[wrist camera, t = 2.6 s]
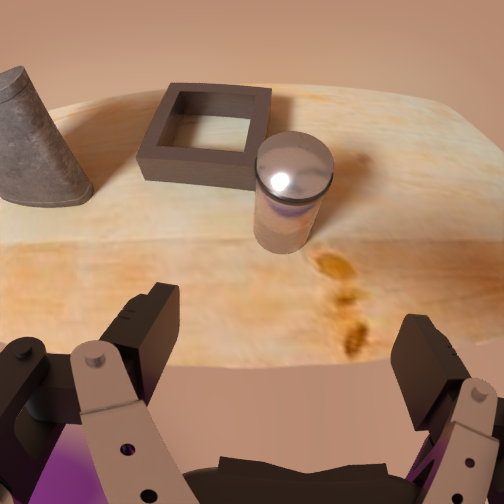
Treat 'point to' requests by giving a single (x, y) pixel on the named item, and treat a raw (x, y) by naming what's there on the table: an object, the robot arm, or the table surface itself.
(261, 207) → the silver metal cylinder
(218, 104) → the square frame
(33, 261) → the table surface
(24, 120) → the flask
